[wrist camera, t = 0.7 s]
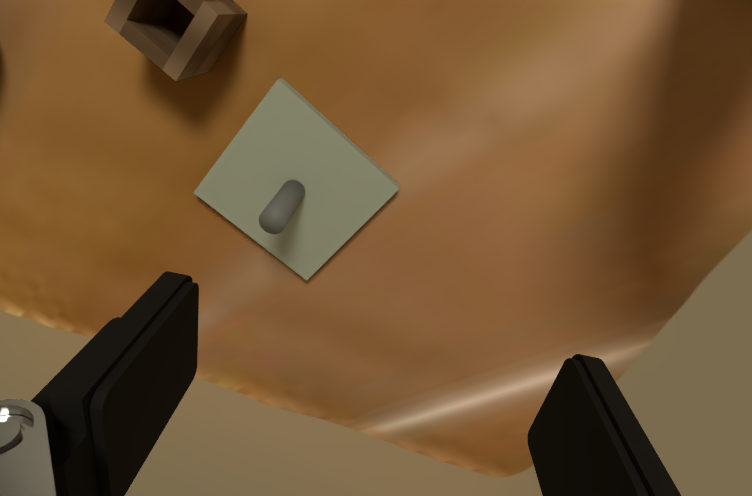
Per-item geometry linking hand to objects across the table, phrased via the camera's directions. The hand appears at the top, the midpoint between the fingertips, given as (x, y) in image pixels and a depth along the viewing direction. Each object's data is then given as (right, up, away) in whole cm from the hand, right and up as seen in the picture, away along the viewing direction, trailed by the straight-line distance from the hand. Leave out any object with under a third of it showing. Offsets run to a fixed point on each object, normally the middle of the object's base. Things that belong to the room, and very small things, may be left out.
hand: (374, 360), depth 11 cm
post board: (-8, +9, +32) cm, 34 cm away
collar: (-15, +22, +26) cm, 37 cm away
